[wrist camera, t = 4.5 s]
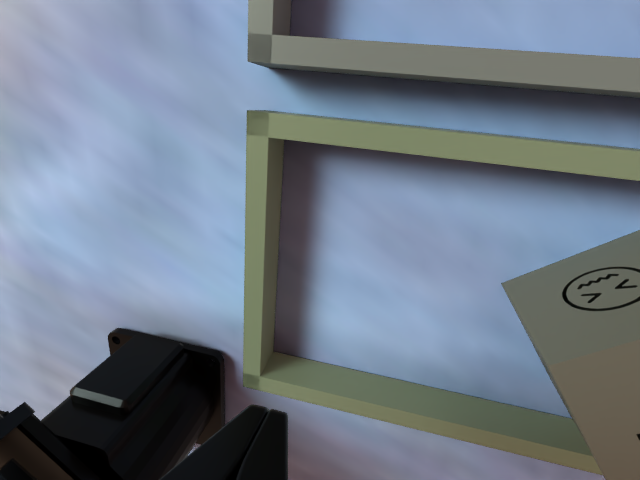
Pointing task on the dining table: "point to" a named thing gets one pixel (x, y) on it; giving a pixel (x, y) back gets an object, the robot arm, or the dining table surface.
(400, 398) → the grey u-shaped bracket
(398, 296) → the dining table surface
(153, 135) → the dining table surface
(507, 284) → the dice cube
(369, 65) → the olive u-shaped frame
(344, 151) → the dining table surface
